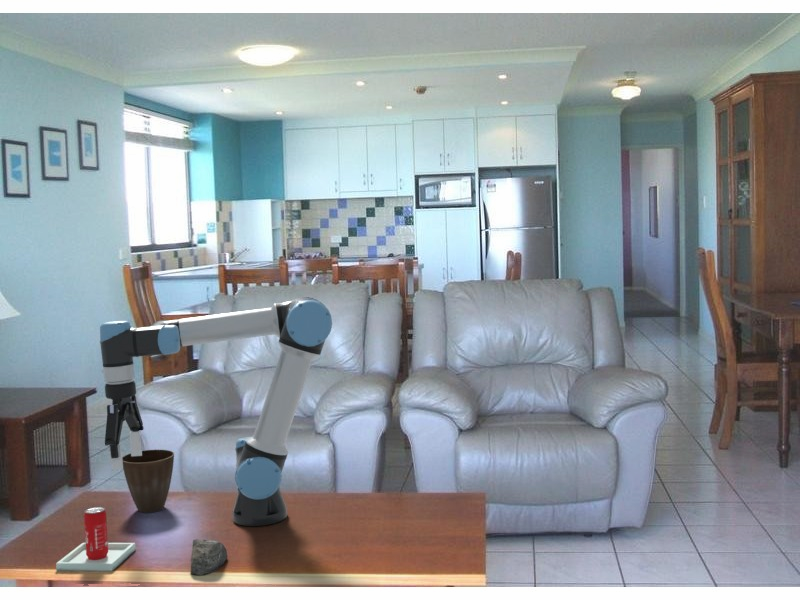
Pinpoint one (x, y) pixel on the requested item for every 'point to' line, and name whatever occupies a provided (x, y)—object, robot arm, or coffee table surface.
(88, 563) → the tray
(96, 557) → the beverage can
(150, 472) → the plant pot
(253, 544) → the coffee table surface
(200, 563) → the rock
